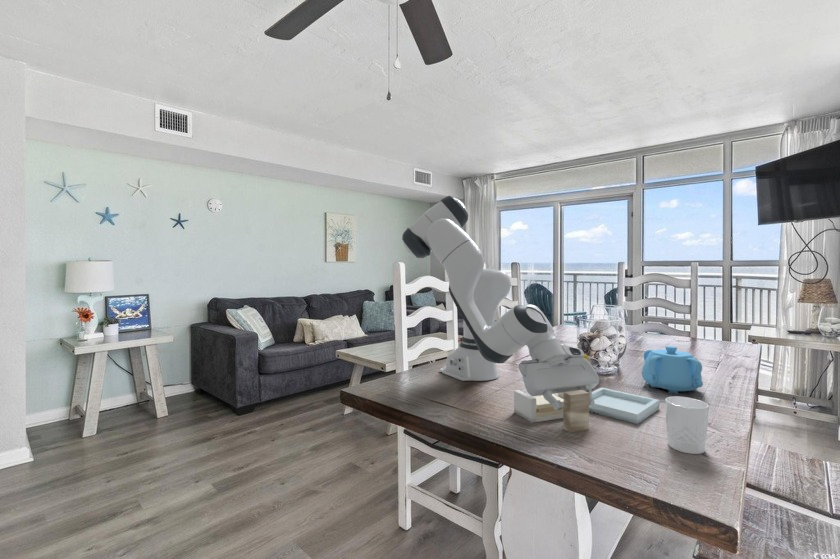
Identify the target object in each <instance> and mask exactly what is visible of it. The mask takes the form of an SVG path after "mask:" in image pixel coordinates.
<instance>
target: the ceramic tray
mask: <svg viewBox="0 0 840 559" xmlns="http://www.w3.org/2000/svg"><path fill="white" fill-rule="evenodd" d="M592 398H593V400H594V402H595V403H594V404H593V405H591V406H589V412H590V411H591V413H593V412H595V413H594V414H597V413H598V414H597V415H601V416H605V417H608V418H613V419H616V420H619V421H623V422H626V423H628V422H629V423H632V424H635V425H639V424H640V423H641V422H642V421H644V420H645V419H648V417H649V416H651V415H652V414H654V413H656V412H657V411H658V410H660V399H657V398H651V397H647V396H644V395H643V396H642V395H639V394H633V393H629V392H625V391H624V392H623V391H619V390H615V389H611V388H606V387H603V386H602V387H599V388H597V389H595V390H592Z"/></svg>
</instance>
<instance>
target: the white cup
mask: <svg viewBox="0 0 840 559" xmlns="http://www.w3.org/2000/svg"><path fill="white" fill-rule="evenodd" d="M664 399H665V400H664V402H665V403H664V404H665V424H666V433H667V436H666V437H667V444H668V446H669V447H670V448H672V449H673V450H674V451H678V452H681V453H685V454H689V455H690V454H691V455H701V454H704V453H705V451H706V440H707V435H708V434H707V433H708V422H709V409H710V406H709V405H710V404H708V403H707V402H705V401H702V400H700V399H696V398H692V397H687V396H677V395H676V396H675V395H674V396H668V397H666V398H664Z"/></svg>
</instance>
